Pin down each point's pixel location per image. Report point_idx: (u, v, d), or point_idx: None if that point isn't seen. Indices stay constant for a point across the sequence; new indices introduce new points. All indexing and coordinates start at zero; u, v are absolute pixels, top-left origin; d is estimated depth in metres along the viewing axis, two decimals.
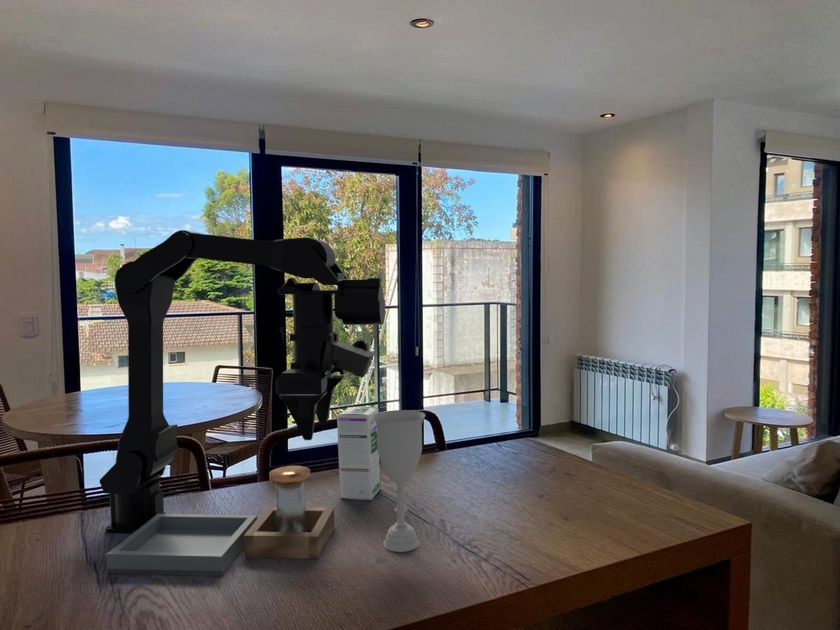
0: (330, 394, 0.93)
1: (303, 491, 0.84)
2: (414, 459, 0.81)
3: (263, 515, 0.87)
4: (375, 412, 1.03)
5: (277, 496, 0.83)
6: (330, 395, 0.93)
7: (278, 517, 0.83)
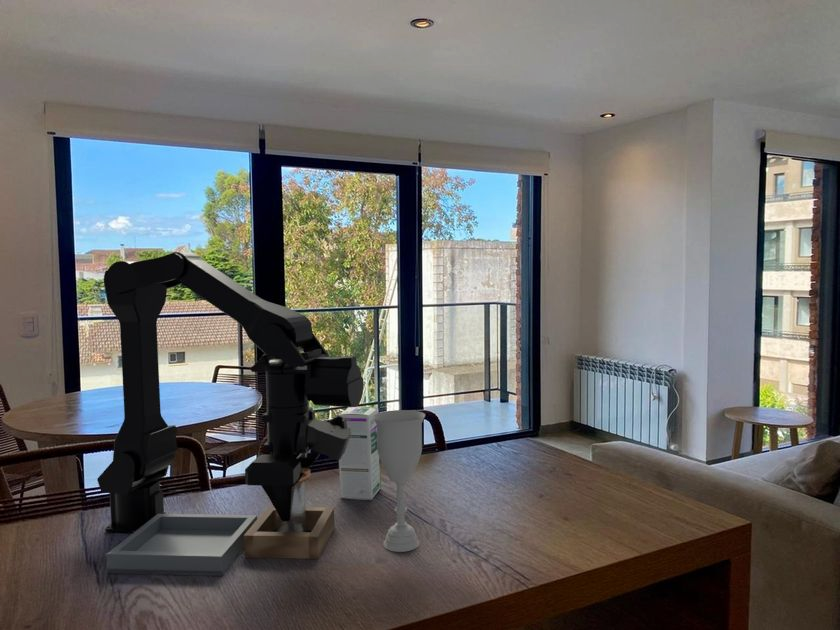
0: None
1: (303, 491, 0.84)
2: (414, 459, 0.81)
3: (263, 515, 0.87)
4: (375, 412, 1.03)
5: None
6: None
7: (278, 517, 0.83)
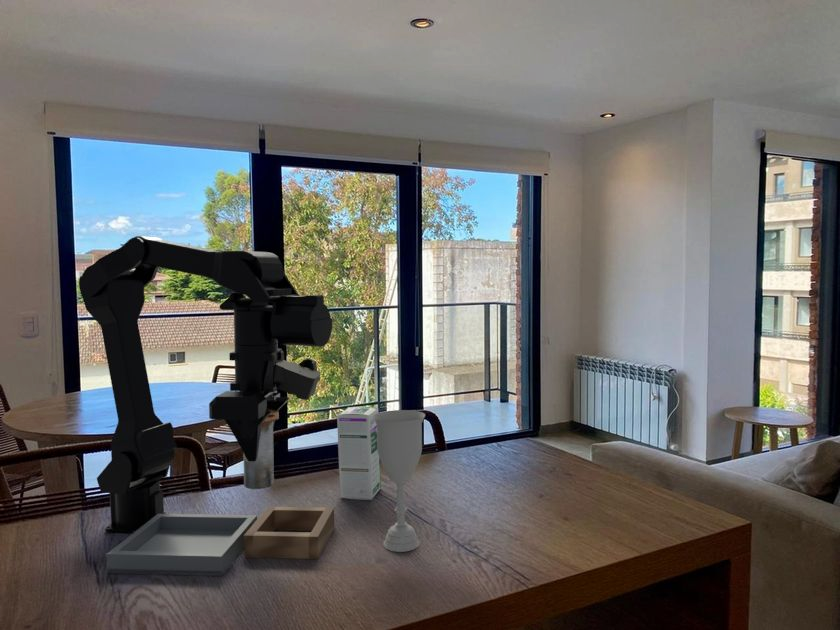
0: None
1: (271, 432, 0.83)
2: (414, 459, 0.81)
3: (263, 515, 0.87)
4: (375, 412, 1.03)
5: None
6: None
7: (245, 458, 0.82)
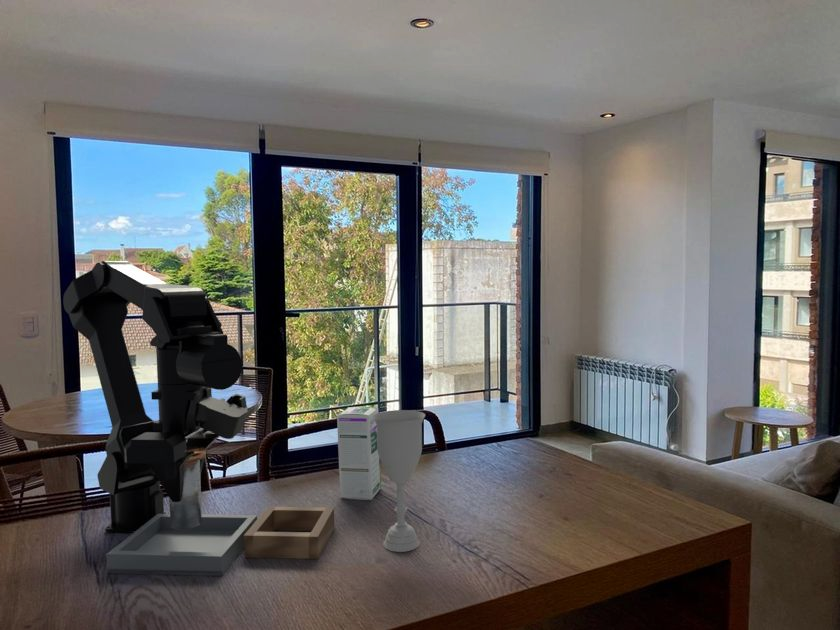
0: None
1: (197, 471, 0.81)
2: (414, 459, 0.81)
3: (263, 515, 0.87)
4: (375, 412, 1.03)
5: None
6: None
7: None
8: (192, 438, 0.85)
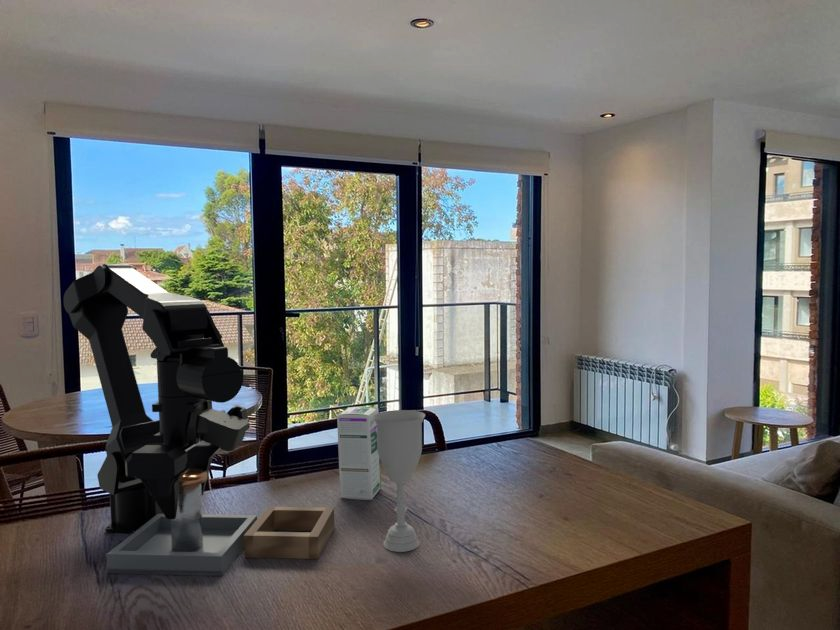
0: (206, 464, 0.86)
1: (198, 494, 0.82)
2: (414, 459, 0.81)
3: (263, 515, 0.87)
4: (375, 412, 1.03)
5: None
6: (206, 465, 0.86)
7: (171, 521, 0.81)
8: (198, 446, 0.86)
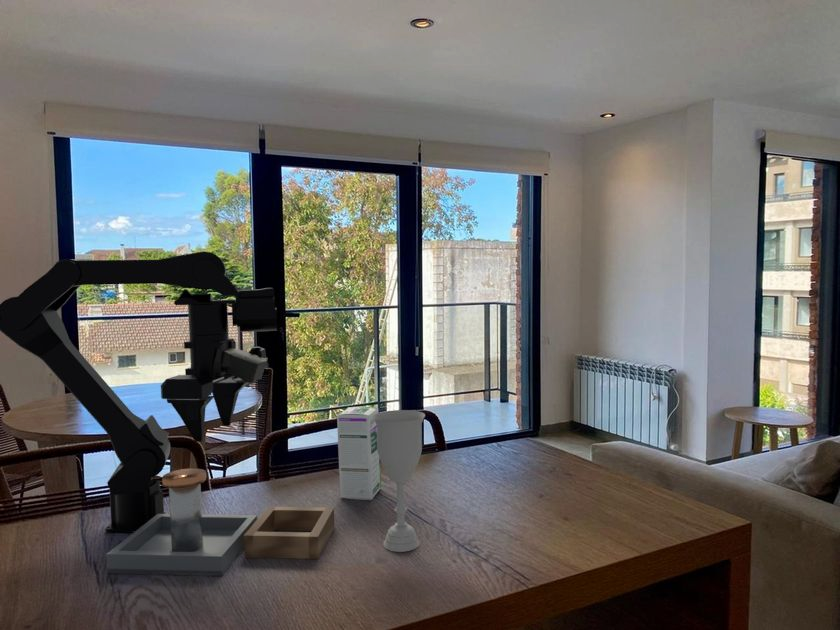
0: (233, 398, 0.99)
1: (198, 495, 0.82)
2: (414, 459, 0.81)
3: (263, 515, 0.87)
4: (375, 412, 1.03)
5: (170, 500, 0.81)
6: (233, 399, 0.99)
7: (171, 522, 0.81)
8: (225, 383, 0.99)
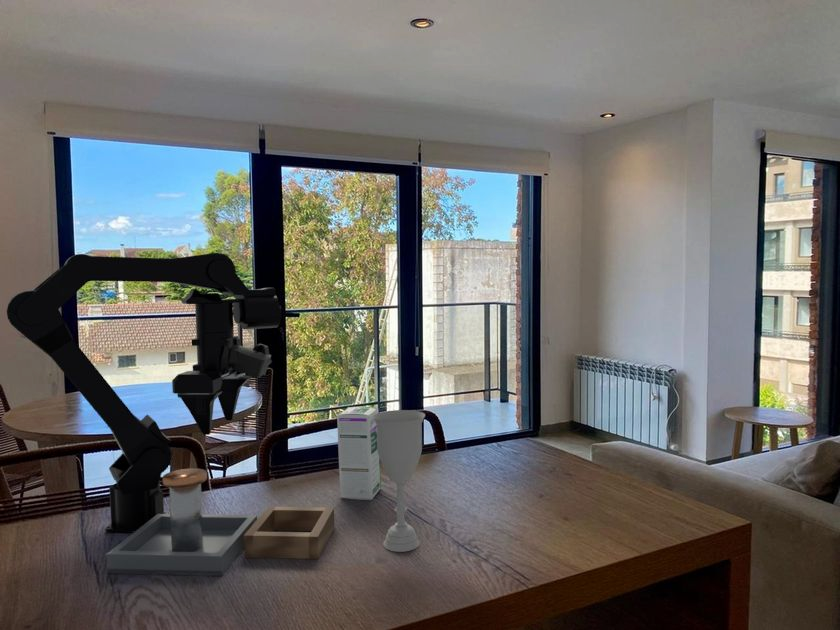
0: (235, 393, 1.03)
1: (198, 494, 0.82)
2: (414, 459, 0.81)
3: (263, 515, 0.87)
4: (375, 412, 1.03)
5: (170, 500, 0.81)
6: (235, 394, 1.03)
7: (171, 521, 0.81)
8: (228, 379, 1.03)
